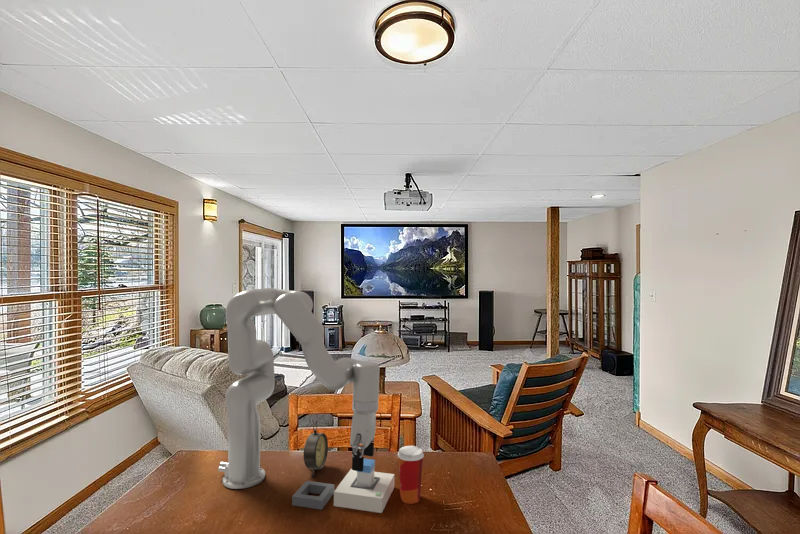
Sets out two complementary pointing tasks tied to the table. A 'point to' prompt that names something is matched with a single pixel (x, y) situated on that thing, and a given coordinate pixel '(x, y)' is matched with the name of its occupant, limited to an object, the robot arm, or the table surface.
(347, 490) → the port panel
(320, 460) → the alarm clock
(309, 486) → the grey square frame
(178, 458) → the table surface
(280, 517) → the table surface
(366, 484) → the plug
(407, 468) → the paper cup
